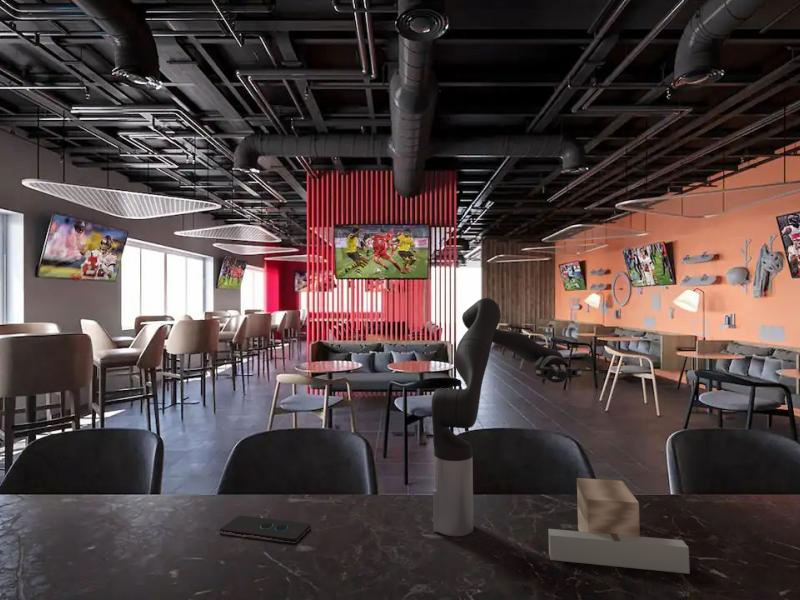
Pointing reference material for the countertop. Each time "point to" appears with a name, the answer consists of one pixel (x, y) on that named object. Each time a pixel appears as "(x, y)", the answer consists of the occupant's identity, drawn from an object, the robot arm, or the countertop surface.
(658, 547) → the sage board
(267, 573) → the countertop surface
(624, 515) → the birch block
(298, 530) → the smart home device
